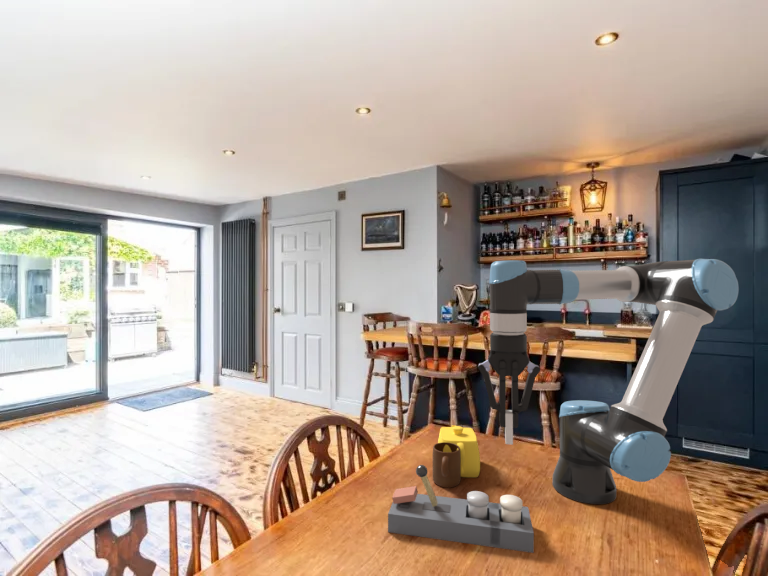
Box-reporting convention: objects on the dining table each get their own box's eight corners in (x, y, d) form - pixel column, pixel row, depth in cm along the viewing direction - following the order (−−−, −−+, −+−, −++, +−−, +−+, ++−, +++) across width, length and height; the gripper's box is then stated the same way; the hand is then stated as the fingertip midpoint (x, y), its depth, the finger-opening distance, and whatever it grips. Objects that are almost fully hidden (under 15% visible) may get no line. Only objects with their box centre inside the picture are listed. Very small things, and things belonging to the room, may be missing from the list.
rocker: (417, 491, 95) (416, 486, 95) (415, 500, 91) (413, 494, 91) (397, 495, 96) (395, 489, 96) (393, 503, 92) (392, 497, 93)
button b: (488, 512, 92) (488, 492, 92) (488, 524, 87) (488, 502, 87) (467, 510, 93) (467, 489, 93) (466, 521, 89) (466, 500, 88)
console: (527, 524, 93) (528, 503, 93) (533, 552, 83) (533, 529, 83) (397, 507, 99) (397, 488, 99) (388, 532, 90) (388, 510, 90)
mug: (459, 498, 104) (459, 461, 104) (429, 495, 105) (429, 458, 105) (460, 476, 116) (461, 443, 116) (433, 473, 117) (433, 440, 117)
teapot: (435, 451, 133) (435, 414, 133) (474, 452, 132) (474, 415, 132) (438, 481, 113) (438, 438, 113) (484, 482, 112) (484, 439, 112)
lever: (441, 499, 93) (425, 461, 94) (440, 505, 91) (423, 466, 92) (430, 503, 94) (415, 464, 95) (429, 509, 91) (413, 469, 92)
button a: (521, 516, 90) (521, 496, 90) (523, 529, 86) (523, 507, 86) (499, 514, 91) (499, 493, 91) (500, 526, 87) (500, 504, 87)
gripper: (538, 331, 91) (538, 437, 91) (477, 330, 94) (478, 433, 94) (542, 335, 83) (543, 451, 84) (476, 334, 86) (477, 446, 87)
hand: (508, 441), depth 89 cm, fingers closed
